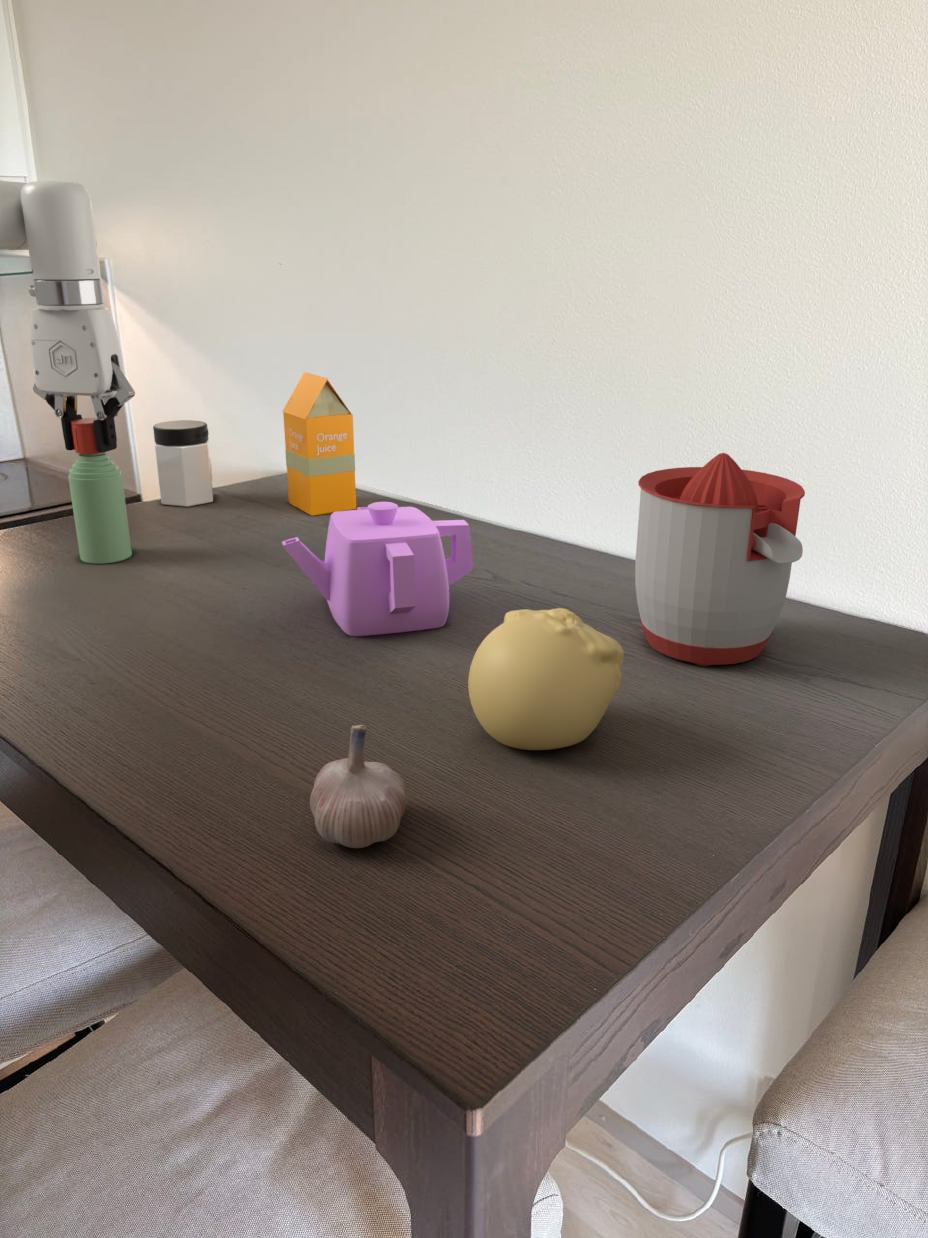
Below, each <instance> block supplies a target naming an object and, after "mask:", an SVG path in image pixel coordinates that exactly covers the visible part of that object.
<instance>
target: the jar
mask: <svg viewBox="0 0 928 1238" xmlns="http://www.w3.org/2000/svg"><path fill="white" fill-rule="evenodd" d="M152 431H153V439H154V443H155V444H154V450H155V458H156V466H157V468H156V469H157V477H158V485H159V494H160V495H159V496H160V503H161V505H163V506H164V505H165V506H174V507H185V508H188V507H193V506H199V505H204V504H205V505H206V504H209V503H213V501H214V487H213V486H214V485H213V469H212V458H211V455H210V444H209V428H208V424H207V422H205V421H203V420H191V419H190V420H189V419H187V420H186V419H184V420H183V419H182V420H167V421H161V422H158V423H155V424H154V425H153V427H152Z"/></svg>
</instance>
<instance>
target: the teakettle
mask: <svg viewBox="0 0 928 1238" xmlns="http://www.w3.org/2000/svg"><path fill="white" fill-rule="evenodd" d="M328 522H329V523H328V528H327V534H326V535H327V536H326V543H325V550H324V551H325V553H324V560H323V561H322V560H321V559H320V558H319V557H318V556H317V555H315V553H314V552H312V551H311V549H309V548H308V547H307V546H306V545H305V544H304V543H303V542H302V541H300V539H299V537H298V536H295V537H293V538H289V539H285V540H283V541H281V544H282V547H283V549H284V550H285V551H286V553H288V554H289V556H290V557H291V559H293V561H294V562H295V563H296V565H297V566H298V567H299V568H300V569H301V571H302V572H303V573H304V574H305V575H306V577H307V579H309V581H310V582H311V583H312V584H313V585H314V587H315V588H316V589H317V590H318V592H319V593H320V594H321V595H322V596H323V598H324V599H325V600H326V602H327V606H328V608H329V611H330V614H331V615H332V618H333V620H334V621H335V622H336V624H337V625H338V626H339V628H340V629H341V631H343V632H344V633H345V634H346V635H348V636H350V637H368V636H379V635H391V634H400V633H408V632H418V631H426V630H432V629H439V628H443V627H444V626H445V625H446V622H447V619H448V615H449V611H450V587H449V586H451V585H452V584H453V583H455V582H457V581H459V580H460V579H461V578H463V577H465V576H466V575H467V574H468V575H469V573H471V572H473V571H474V562H473V552H472V541H471V531H470V530H471V529H470V524H469V523H468V522H467V521H466V520H465V519H448V520H447V519H443V520H432V519H431V518H430V517H429V516H428V515H426V513H424V512H423V511H422V510H421V509H419V508H417V507H415V506H399V505H398V504H397V503H394V502H391V501H376V502H372V503H370V504H368V505H367V506H360V507H359V506H356V509H352V510H345V511H338V512H332V513H330V517H329V521H328ZM450 536H451V540H450V541H451V544H450V545H451V548H450V550H451V551H450V552H451V555H450V557H448V558H446V557H445V551H444V548H443V547H444V546H443V542H442V538H443V537H450Z"/></svg>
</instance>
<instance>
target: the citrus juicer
mask: <svg viewBox="0 0 928 1238" xmlns="http://www.w3.org/2000/svg"><path fill="white" fill-rule="evenodd" d="M637 483H638V484H637V485H638V487H639V488H640V495H639V506H638V507H639V508H638V519H637V520H638V521H637V533H636V534H637V535H636V548H635V561H634V566H635V567H634V569H635V570H634V583H635V584H634V585H635V593H636V603H637V607H638V613H639V620H640V624H641V628H642V631H643V634H644V636H645V638H646V639H645V640H646V641H647V642H648V644H649V646H650V647H652V649H653V650H656V651H657V652H659V653H660V654H663V655H665V656H667V657H669V658H673V659H676V660H679V661H684V662H688V663H692V664H694V665H696V666H700V667H709V666H712V665H713V666H717V665H718V666H719V665H721V666H722V665H723V666H724V665H735V664H739V663H740V664H741V663H745V662H747V661H748V662H749V661H751V660H754V659H755V658H757V657H758V656H759V655H760V654H761V652H763V650H764V648H765V647H766V646H767V644H768V642H769V640H770V639H771V637H772V635H773V632H774V629H775V627H776V624H777V622H778V620H779V618H780V616H781V613H782V610H783V607H784V604H785V601H786V598H787V594H788V588H789V585H790V579H791V573H792V565H793V563H795V562H797V561H799V560H801V558H802V556H803V551H804V549H803V544H802V542H801V540H800V539H799V538H798V537H797V536H796V535H797V528H798V521H799V514H800V507H801V501H802V499H803V498H804V497H805V493H806V491H805V488H803V486H802V485H800V483H797V482H796V481H794V480H791V479H790V478H787V477H783V476H779V475H777V474H771V473H767V472H761V471H756V470H751V469H750V470H749V469H742V468H741V467H740V466H739V465H738V463H737V462H736V461H735V460H734V458H732V457H731V456H730V455H729V454H728V453H726V452H721V453H718V454H716V455H715V456H714V457H713V458H711V459H710V460H709V461H708V462H706V463H705V464H704V465H703V466H686V467H685V466H684V467H673V468H672V467H671V468H664V469H659V470H654V471H651V472H647V473H646V474H644V475H642V476H641V477H640V478H639V480H638V481H637Z"/></svg>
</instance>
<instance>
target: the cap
mask: <svg viewBox="0 0 928 1238" xmlns="http://www.w3.org/2000/svg"><path fill="white" fill-rule="evenodd" d="M97 419H98V418H97V417H88V418H87V417H85V418H82V419H77V420H73V421H71V425H72V427H71V429H72V436H73V442H74V449H75V450H74V452H75V453H76V454H77V455H79V454H98V453H100V452H98V451H97V447H96V440H95V433H94V425H93V422H94V420H97Z"/></svg>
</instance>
